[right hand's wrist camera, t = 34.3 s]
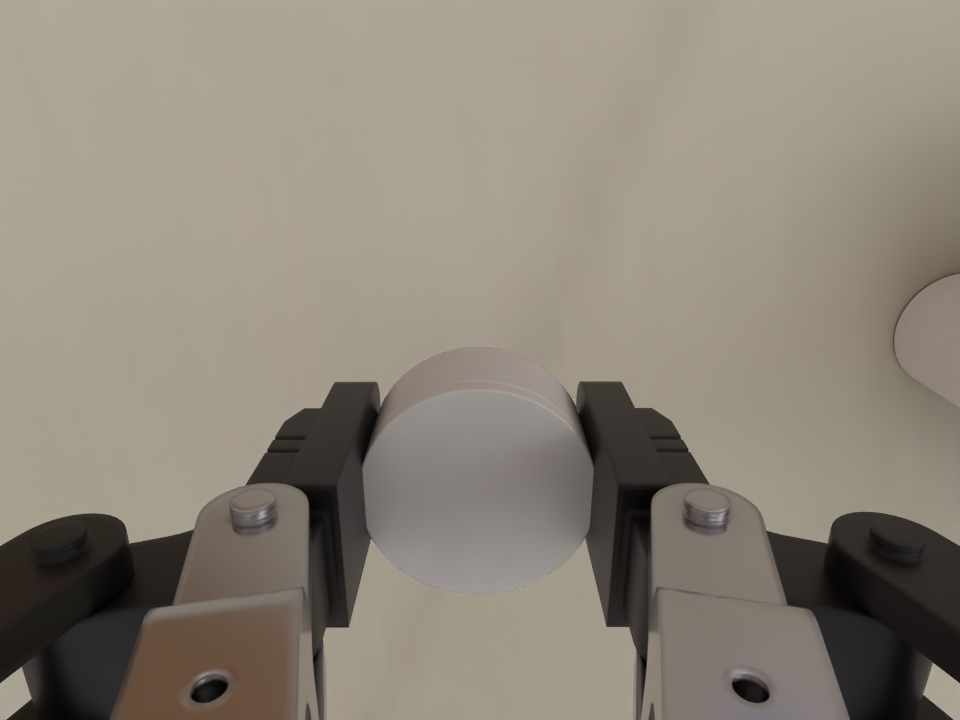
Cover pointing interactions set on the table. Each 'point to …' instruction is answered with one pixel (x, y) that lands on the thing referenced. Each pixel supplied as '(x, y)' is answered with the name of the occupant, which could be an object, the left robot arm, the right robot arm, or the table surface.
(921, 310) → the bottle
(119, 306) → the table surface
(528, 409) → the cap
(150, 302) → the table surface
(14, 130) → the table surface
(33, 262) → the table surface
